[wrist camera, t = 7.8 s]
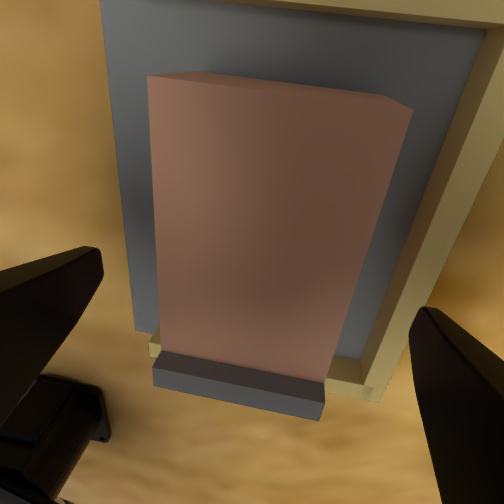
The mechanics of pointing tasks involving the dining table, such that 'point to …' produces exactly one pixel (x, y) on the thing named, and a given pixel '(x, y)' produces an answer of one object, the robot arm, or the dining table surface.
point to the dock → (338, 77)
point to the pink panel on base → (262, 229)
